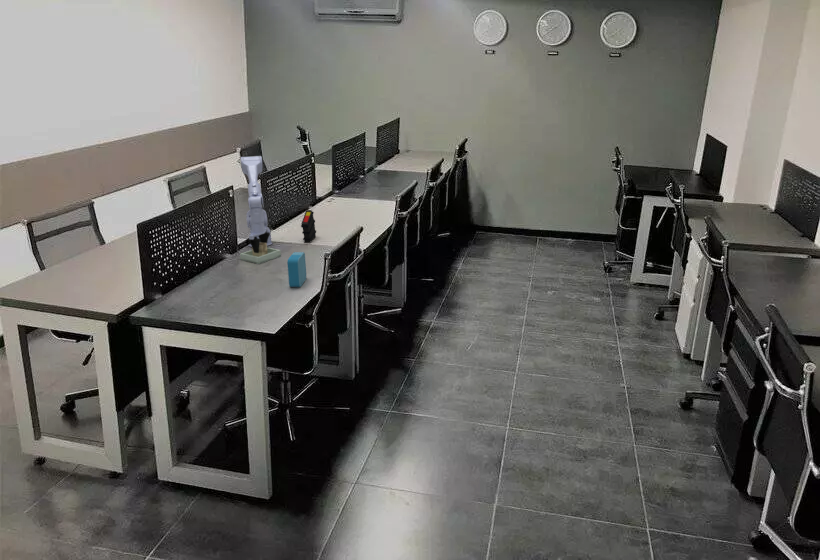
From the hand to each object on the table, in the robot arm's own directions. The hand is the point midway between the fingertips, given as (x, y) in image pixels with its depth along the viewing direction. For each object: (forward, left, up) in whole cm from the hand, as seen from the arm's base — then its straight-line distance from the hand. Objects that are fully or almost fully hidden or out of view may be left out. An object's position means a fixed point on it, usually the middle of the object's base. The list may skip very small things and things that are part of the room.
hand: (260, 250), depth 308 cm
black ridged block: (-34, -1, -4) cm, 34 cm away
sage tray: (0, 0, -4) cm, 4 cm away
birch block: (0, 0, -3) cm, 3 cm away
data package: (+16, +39, -4) cm, 42 cm away
